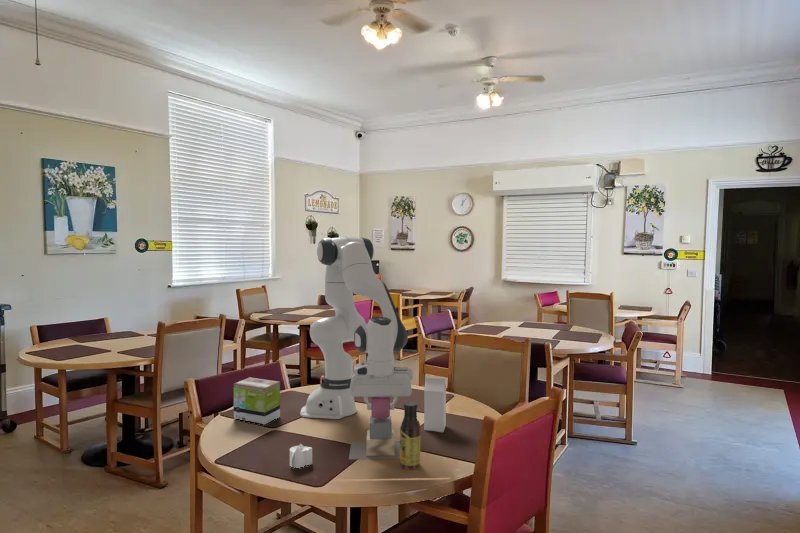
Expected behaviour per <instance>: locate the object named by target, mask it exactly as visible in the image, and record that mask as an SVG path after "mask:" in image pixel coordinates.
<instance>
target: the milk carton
mask: <svg viewBox="0 0 800 533" xmlns="http://www.w3.org/2000/svg"><path fill="white" fill-rule="evenodd" d="M423 392H424V393H423V395H424V398H423V400H424V401H423V402H424V404H423V405H424V407H423V408H424V410H423V412H424V413H423V414H424V415H423V418H424V419H423V421H424V422H423V428H424V429H423V430H424V431H430V432H436V433H444V432H445V429H446V425H447V424H446V423H447V422H446V421H447V420H446V419H447V385H446V378H445V377H432V376H431V377H429V376H426V377H425V382H424V391H423Z"/></svg>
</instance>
